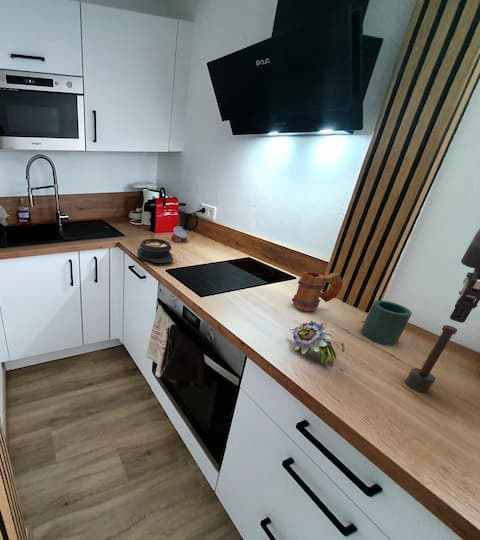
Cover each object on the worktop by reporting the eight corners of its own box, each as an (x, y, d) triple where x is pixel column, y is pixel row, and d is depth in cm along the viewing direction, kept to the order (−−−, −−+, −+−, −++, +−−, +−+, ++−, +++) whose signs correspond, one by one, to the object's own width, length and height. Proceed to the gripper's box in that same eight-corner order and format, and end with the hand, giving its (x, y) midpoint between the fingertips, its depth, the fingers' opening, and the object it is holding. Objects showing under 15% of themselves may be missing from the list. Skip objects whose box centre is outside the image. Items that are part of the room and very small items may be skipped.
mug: (293, 312, 105) (305, 275, 99) (286, 301, 113) (296, 266, 107) (337, 317, 103) (351, 279, 97) (326, 305, 110) (339, 270, 104)
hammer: (418, 380, 75) (452, 323, 68) (433, 393, 71) (470, 334, 64) (400, 378, 75) (431, 321, 68) (413, 391, 71) (448, 332, 64)
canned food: (182, 245, 189) (190, 232, 186) (183, 248, 180) (192, 235, 177) (167, 236, 189) (175, 223, 186) (168, 239, 179) (176, 225, 176)
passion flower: (292, 364, 87) (279, 326, 89) (324, 356, 88) (311, 317, 90) (320, 370, 76) (305, 326, 78) (356, 360, 77) (340, 317, 79)
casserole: (130, 251, 161) (130, 237, 158) (159, 248, 167) (160, 234, 164) (148, 268, 140) (150, 252, 137) (181, 264, 146) (183, 248, 143)
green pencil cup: (383, 329, 96) (396, 301, 92) (404, 346, 88) (420, 316, 84) (354, 327, 97) (366, 299, 93) (372, 343, 89) (386, 313, 85)
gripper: (529, 259, 51) (481, 333, 58) (527, 246, 60) (485, 312, 66) (467, 248, 57) (430, 317, 63) (473, 237, 65) (439, 299, 71)
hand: (458, 314), depth 65 cm, fingers open, 8 cm apart
